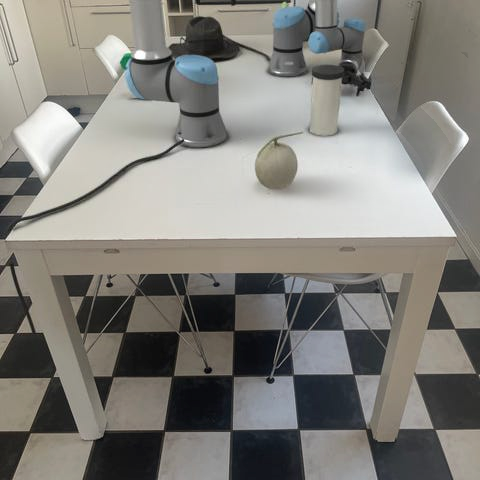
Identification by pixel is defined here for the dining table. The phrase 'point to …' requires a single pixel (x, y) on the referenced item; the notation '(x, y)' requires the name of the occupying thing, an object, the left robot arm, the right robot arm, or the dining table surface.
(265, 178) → the fruit
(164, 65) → the left robot arm
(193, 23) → the hat
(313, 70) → the lid
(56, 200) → the dining table surface
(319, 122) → the jar
